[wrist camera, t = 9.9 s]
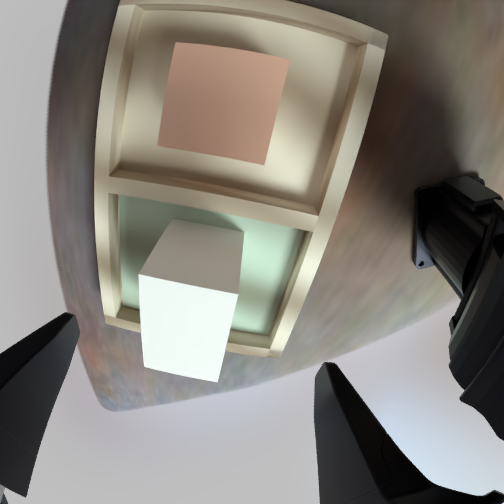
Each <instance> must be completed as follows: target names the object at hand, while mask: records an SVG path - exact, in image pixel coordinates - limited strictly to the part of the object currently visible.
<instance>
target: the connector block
mask: <svg viewBox="0 0 504 504" xmlns="http://www.w3.org/2000/svg"><path fill="white" fill-rule="evenodd" d="M243 242H244V232H242V231H237V230H231V229H226V228H221V227H216V226H211V225H206V224H200V223H195V222H190V221H185V220H179V219H174V218H172V220H171V221H170V223H169V224H168V226H167V228H166V229H165V231H164V232H163V234H162V236H161V237H160V239H159V240H158V242H157V244H156V245H155V247H154V249H153V250H152V252H151V254H150V255H149V257H148V259H147V261H146V262H145V264H144V266H143V267H142V269H141V271H140V273H139V303H140V321H141V336H142V348H143V358H144V367H148V368H152V369H156V370H160V371H164V372H168V373H173V374H178V375H182V376H187V377H192V378H197V379H203V380H208V381H214V382H218V378H219V374H220V370H221V366H222V361H223V357H224V353H225V349H226V344H227V340H228V336H229V332H230V328H231V323H232V319H233V315H234V311H235V307H236V302H237V298H238V293H239V283H240V273H241V262H242V252H243Z"/></svg>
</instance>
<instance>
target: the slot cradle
mask: <svg viewBox="0 0 504 504" xmlns="http://www.w3.org/2000/svg"><path fill="white" fill-rule="evenodd" d="M388 36H389V35H388V34H385V33H383V32H381V31H379V30H376V29H374V28H372V27H369V26H367V25H364V24H362V23H359V22H356V21H354V20H351V19H348V18H345V17H342V16H340V15H337V14H334V13H330V12H327V11H324V10H321V9H317V8H314V7H310V6H306V5H303V4H299V3H295V2H290V1H286V0H120V3H119V7H118V10H117V14H116V18H115V22H114V26H113V30H112V34H111V38H110V43H109V47H108V52H107V57H106V62H105V68H104V74H103V80H102V87H101V94H100V102H99V110H98V120H97V131H96V146H95V169H94V212H95V235H96V250H97V261H98V271H99V280H100V289H101V296H102V303H103V310H104V316H105V322H106V324H110V325H113V326H117V327H121V328H124V329H128V330H132V331H136V332H140V333H141V321H140V303H139V273H140V271H141V269H142V267H143V266H144V264H145V262H146V261H147V259H148V257H149V255H150V254H151V252H152V250H153V249H154V247H155V245H156V244H157V242H158V240H159V239H160V237H161V236H162V234H163V232H164V231H165V229H166V228H167V226H168V224H169V223H170V221H171V220H172V218H174V219H179V220H185V221H190V222H195V223H200V224H206V225H211V226H216V227H221V228H226V229H231V230H237V231H242V232H244V242H243V252H242V262H241V273H240V283H239V293H238V298H237V302H236V307H235V311H234V315H233V319H232V323H231V328H230V332H229V336H228V340H227V344H226V349H225V351H230V352H236V353H242V354H248V355H255V356H262V357H269V358H277V359H279V358H280V356H281V353H282V351H283V349H284V347H285V345H286V342H287V340H288V338H289V336H290V333H291V331H292V329H293V326H294V324H295V322H296V319H297V317H298V315H299V312H300V310H301V308H302V305H303V303H304V300H305V298H306V296H307V293H308V291H309V288H310V286H311V283H312V281H313V278H314V276H315V273H316V271H317V268H318V265H319V263H320V260H321V258H322V255H323V252H324V250H325V247H326V245H327V242H328V239H329V236H330V234H331V231H332V228H333V225H334V223H335V220H336V217H337V214H338V211H339V209H340V206H341V203H342V200H343V197H344V194H345V191H346V188H347V185H348V182H349V179H350V176H351V173H352V170H353V167H354V163H355V160H356V157H357V154H358V151H359V147H360V144H361V141H362V137H363V134H364V131H365V127H366V124H367V120H368V117H369V113H370V109H371V106H372V102H373V98H374V95H375V91H376V87H377V83H378V79H379V75H380V71H381V67H382V63H383V58H384V54H385V50H386V45H387V41H388ZM176 42H179V43H192V44H203V45H212V46H220V47H227V48H234V49H240V50H246V51H252V52H257V53H262V54H267V55H272V56H276V57H281V58H285V59H289V60H290V63H289V67H288V71H287V75H286V79H285V83H284V87H283V91H282V95H281V99H280V103H279V107H278V111H277V116H276V120H275V124H274V128H273V132H272V136H271V140H270V144H269V149H268V153H267V157H266V161H265V165H260V164H255V163H250V162H246V161H241V160H236V159H230V158H225V157H220V156H214V155H209V154H203V153H197V152H191V151H185V150H178V149H171V148H164V147H157V144H158V136H159V129H160V122H161V115H162V109H163V103H164V97H165V91H166V86H167V81H168V76H169V71H170V66H171V61H172V56H173V52H174V47H175V43H176Z"/></svg>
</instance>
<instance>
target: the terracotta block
mask: <svg viewBox="0 0 504 504" xmlns="http://www.w3.org/2000/svg"><path fill="white" fill-rule="evenodd" d="M289 63H290V60H289V59H285V58H281V57H276V56H272V55H267V54H262V53H257V52H252V51H246V50H240V49H234V48H227V47H220V46H212V45H203V44H192V43H179V42H176V43H175V47H174V52H173V56H172V61H171V66H170V71H169V76H168V81H167V86H166V91H165V97H164V103H163V109H162V115H161V122H160V129H159V136H158V144H157V147H164V148H171V149H178V150H185V151H191V152H197V153H203V154H209V155H214V156H220V157H225V158H230V159H236V160H241V161H246V162H250V163H255V164H260V165H265V161H266V157H267V153H268V149H269V144H270V140H271V136H272V132H273V128H274V124H275V120H276V116H277V111H278V107H279V103H280V99H281V95H282V91H283V87H284V83H285V79H286V75H287V71H288V67H289Z"/></svg>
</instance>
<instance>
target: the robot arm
mask: <svg viewBox="0 0 504 504" xmlns="http://www.w3.org/2000/svg"><path fill="white" fill-rule="evenodd" d="M423 192H424V194H423V196H422V197H420V195H421V193H423ZM421 261H422V262H421ZM420 262H421V263H420ZM419 263H420V264H419ZM414 265H415V266H416V267H417V269H423V268H427V267H430V266H434V265H435V266H436V268H437V269H438V270H439V271H440V273H441V274H442V275H443V276H444V278H445V279H446V280H447V282H448V283H449V284H450V286H451V287H452V288H453V290H454V291H455V292H456V294H457V295H458V296H459V298H460V299H461V302H460V305H459V307H458V309H457V311H456V313H455V315H454V316H453V317H452V318H451V320H450V323H449V326H450V331H451V339H450V344H449V354H450V360H451V361H450V363H449V368H450V370H451V372H452V375H453V376H454V378H455V379H456V381H457V382H458V384H459V385H460V386H461V387H462V388H463V389H464V390H465V391H464V392H463V394H462V395H461V396H460V400H461V401H462V402H464V403H466V404H468V405H470V406H472V407H473V408H475V409H476V410H477V411H478V412H480V413H481V414H482V415H483V416H484V417H485V419H486V420H487V421H488V423H489V424H490V426H491V427H492V429H493V430H494V432H495V433H496V435H497V436H498V437H499V438H500V439H502V440H504V201H503V198H502V197H501V196H500V195H499V194H497V193H496V192H494V191H492V190H491V189H489V188H488V187H486V186H485V183H484V180H483V179H481V178H479V177H475V178H471V177H469V176H464V177H458V178H452V179H446V180H443V181H442V182H441V183H440V184H434V185H429V186H423V187H419V188H418V189H417V190H416V191H415V250H414ZM79 335H80V329H79V326H78V322H77V319H76V316H75V315H74V314H71V313H67V312H65V313H63V314H61V315H60V316H58V317H57V318H55V319H53V320H52V321H50V322H48V323H47V324H45V325H44V326H42V327H41V328H39V329H37V330H36V331H34V332H33V333H31V334H30V335H28V336H26V337H25V338H23V339H22V340H20V341H19V342H17V343H16V344H14V345H13V346H11V347H10V348H8V349H7V350H5V351H4V352H2V353H1V354H0V504H8V502H7V500H6V497H5V495H4V493H3V492H4V489H5V487H6V488H8V489H9V490H11V491H13V492H15V493H17V494H19V495H22V496H24V497H26V496H27V492H28V488H29V484H30V480H31V476H32V472H33V468H34V465H35V461H36V458H37V454H38V450H39V447H40V444H41V441H42V438H43V435H44V432H45V429H46V426H47V423H48V420H49V417H50V415H51V412H52V409H53V407H54V404H55V401H56V399H57V396H58V394H59V391H60V389H61V386H62V383H63V381H64V379H65V376H66V374H67V372H68V369H69V366H70V363H71V360H72V356H73V353H74V350H75V347H76V344H77V341H78V338H79ZM314 424H315V437H316V449H317V463H318V476H319V495H320V504H502V503H503V502H504V494H503V493H501V492H499V491H496V490H493V491H491V492H489V493H487V494H486V495H484V496H475V495H471V494H467V493H463V492H459V491H455V490H452V489H448V488H445V487H442V486H439V485H436V484H434V483H432V482H431V481H430V480H428V479H427V478H426V477H425V476H424V475H423V474H422V473H421V472H420V471H419V470H418V469H417V468H416V466H415V465H413V463H412V462H411V461H410V460H409V459H408V458H407V457H406V456H405V455H404V454H403V452H402V451H401V450H400V449H399V447H398V446H397V445H396V444H395V443H394V441H393V440H392V438H391V437H390V436H389V434H387V432H386V431H385V429H384V428H383V427H382V425H381V424H380V422H379V421H378V420H377V418H376V417H375V416H374V414H373V413H372V412H371V410H370V409H369V408H368V406H367V405H366V404H365V402H364V401H363V400H362V398H361V397H360V395H359V394H358V393H357V391H356V390H355V389H354V387H353V386H352V385H351V384H350V382H349V381H348V379H347V378H346V377H345V375H344V374H343V373H342V371H341V370H340V369H339V367H338V366H337V365H336V364H335V363H332V362H324V363H323V364H322V366H321V368H320V369H319V371H318V373H317V374H316V377H315V396H314Z"/></svg>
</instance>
